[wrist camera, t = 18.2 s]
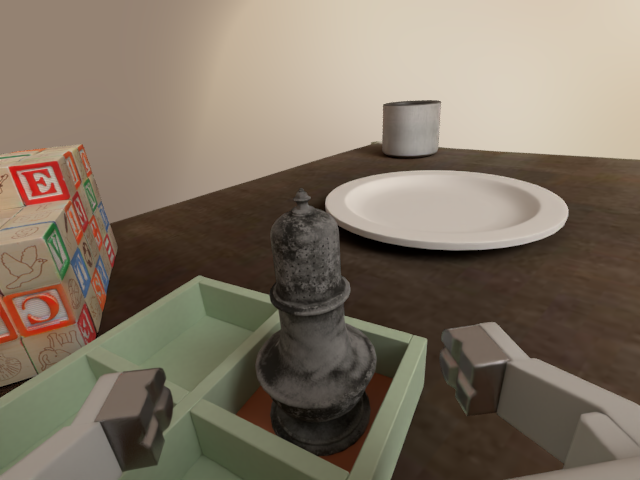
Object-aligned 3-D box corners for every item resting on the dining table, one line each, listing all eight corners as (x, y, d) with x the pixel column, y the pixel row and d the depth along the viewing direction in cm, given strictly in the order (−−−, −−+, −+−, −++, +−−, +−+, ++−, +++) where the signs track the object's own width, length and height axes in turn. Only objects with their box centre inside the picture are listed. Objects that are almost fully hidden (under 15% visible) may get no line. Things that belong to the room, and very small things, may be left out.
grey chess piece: (395, 395, 19) (403, 178, 14) (334, 490, 15) (314, 227, 10) (310, 353, 22) (293, 166, 17) (241, 421, 18) (191, 199, 13)
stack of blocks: (95, 361, 24) (20, 185, 19) (-20, 397, 21) (-142, 207, 16) (118, 247, 42) (82, 141, 37) (56, 259, 39) (10, 149, 34)
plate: (324, 189, 58) (324, 176, 57) (494, 179, 57) (496, 165, 56) (328, 273, 33) (326, 250, 32) (633, 256, 32) (641, 233, 31)
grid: (423, 384, 20) (427, 338, 19) (191, 1051, 6) (141, 1061, 5) (207, 311, 28) (198, 275, 27) (-100, 539, 15) (-149, 489, 13)
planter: (382, 160, 77) (383, 106, 72) (381, 149, 88) (382, 102, 83) (441, 158, 75) (446, 102, 70) (433, 147, 86) (436, 99, 81)
